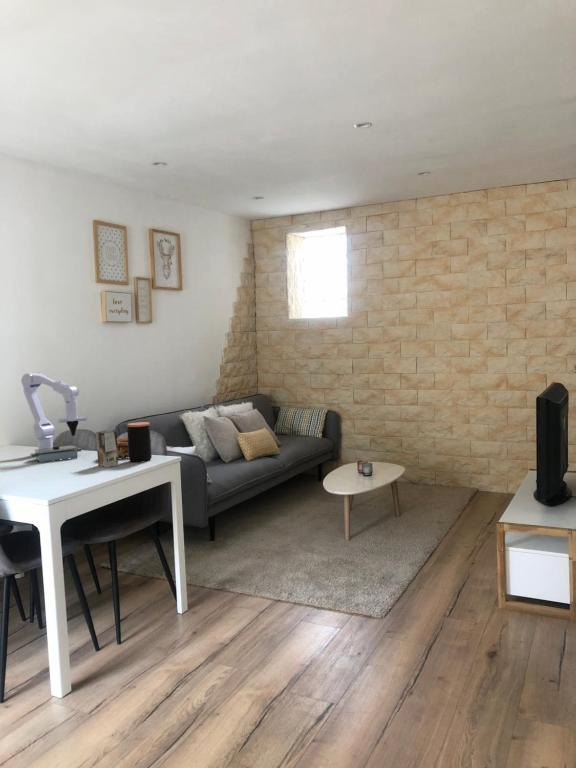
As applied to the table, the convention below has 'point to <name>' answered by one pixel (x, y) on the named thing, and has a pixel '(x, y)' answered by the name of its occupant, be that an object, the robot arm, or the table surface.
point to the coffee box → (107, 448)
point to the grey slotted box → (55, 455)
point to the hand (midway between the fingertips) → (73, 435)
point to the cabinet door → (55, 449)
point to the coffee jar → (139, 441)
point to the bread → (122, 447)
